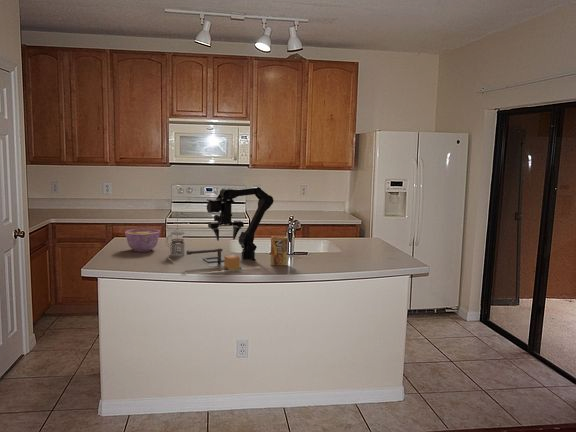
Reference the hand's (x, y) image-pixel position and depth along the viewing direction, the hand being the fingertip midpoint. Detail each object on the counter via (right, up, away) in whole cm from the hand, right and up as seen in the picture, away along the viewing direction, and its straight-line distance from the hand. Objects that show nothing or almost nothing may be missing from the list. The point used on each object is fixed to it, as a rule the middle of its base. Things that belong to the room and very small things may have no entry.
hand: (225, 240), depth 271 cm
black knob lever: (-10, -13, -10) cm, 19 cm away
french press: (-30, -10, +13) cm, 34 cm away
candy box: (+29, -14, +1) cm, 32 cm away
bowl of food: (-53, -8, +26) cm, 59 cm away
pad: (+4, -14, -11) cm, 19 cm away
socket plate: (-6, -13, 0) cm, 14 cm away
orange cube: (+5, -14, -11) cm, 19 cm away
